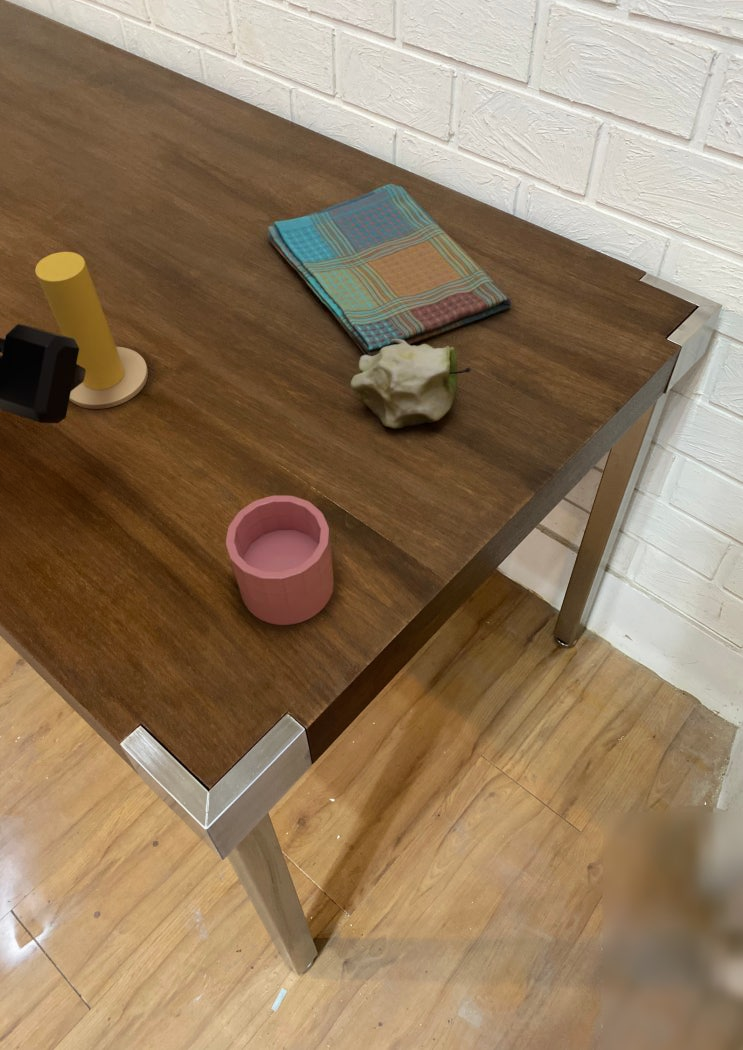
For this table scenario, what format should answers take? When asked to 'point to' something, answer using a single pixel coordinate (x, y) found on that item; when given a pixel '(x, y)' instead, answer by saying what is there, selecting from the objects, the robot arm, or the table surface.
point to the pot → (281, 559)
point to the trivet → (120, 392)
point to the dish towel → (386, 269)
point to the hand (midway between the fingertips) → (37, 360)
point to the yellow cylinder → (81, 317)
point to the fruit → (408, 383)
